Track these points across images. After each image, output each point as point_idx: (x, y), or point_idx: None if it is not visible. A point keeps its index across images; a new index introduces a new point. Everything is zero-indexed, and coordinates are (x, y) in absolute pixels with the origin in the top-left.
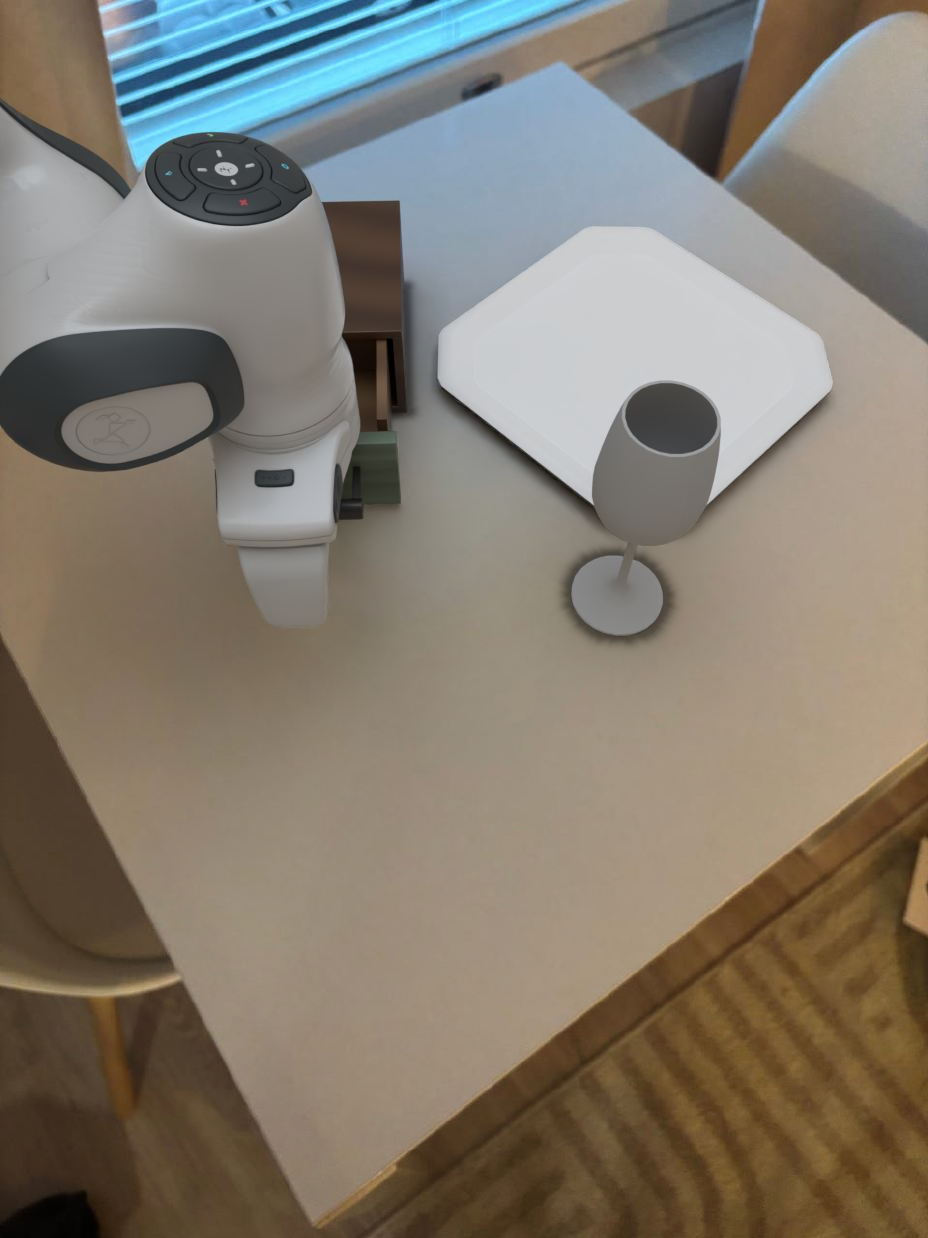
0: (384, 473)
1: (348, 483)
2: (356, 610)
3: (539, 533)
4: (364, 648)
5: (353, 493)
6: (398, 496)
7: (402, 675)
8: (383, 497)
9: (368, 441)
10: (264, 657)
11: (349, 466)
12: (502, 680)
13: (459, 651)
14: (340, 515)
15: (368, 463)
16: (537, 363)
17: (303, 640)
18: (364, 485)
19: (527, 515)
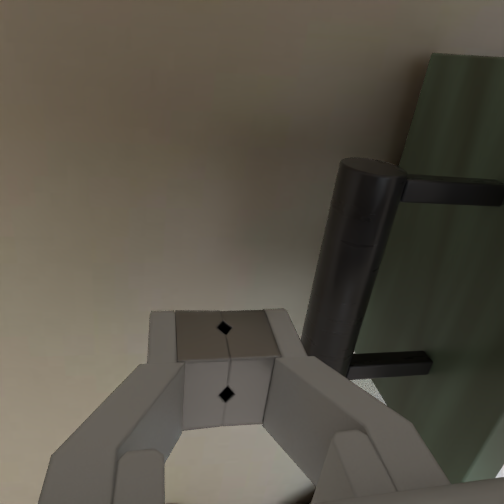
0: (397, 391)
1: (404, 310)
2: (148, 263)
3: (260, 472)
4: (60, 277)
5: (361, 369)
6: (357, 353)
7: (6, 335)
8: (363, 330)
9: (479, 464)
10: (16, 65)
11: (436, 355)
12: (16, 453)
13: (65, 406)
14: (308, 347)
15: (427, 397)
16: (501, 474)
17: (73, 162)
18: (390, 331)
19: (290, 460)
